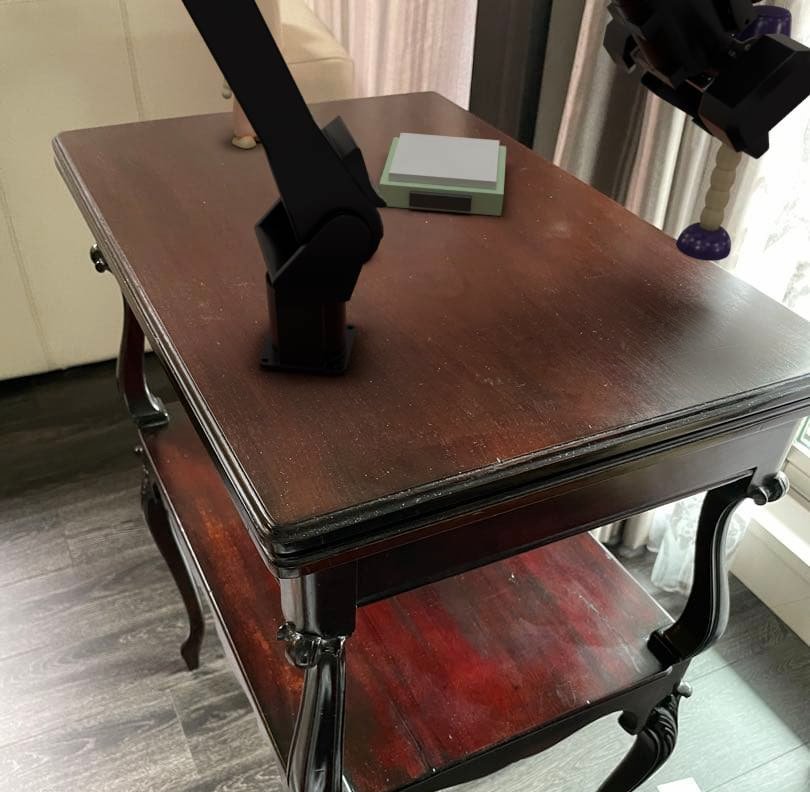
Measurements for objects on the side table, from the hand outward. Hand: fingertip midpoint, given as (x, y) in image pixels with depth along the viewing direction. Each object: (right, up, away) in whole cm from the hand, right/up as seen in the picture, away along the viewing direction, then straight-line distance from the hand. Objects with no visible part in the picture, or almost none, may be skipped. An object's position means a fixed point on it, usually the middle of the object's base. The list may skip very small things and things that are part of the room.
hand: (747, 143), depth 62 cm
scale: (-21, +7, +24) cm, 33 cm away
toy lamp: (-2, -6, +6) cm, 8 cm away
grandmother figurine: (-42, +15, +31) cm, 54 cm away
